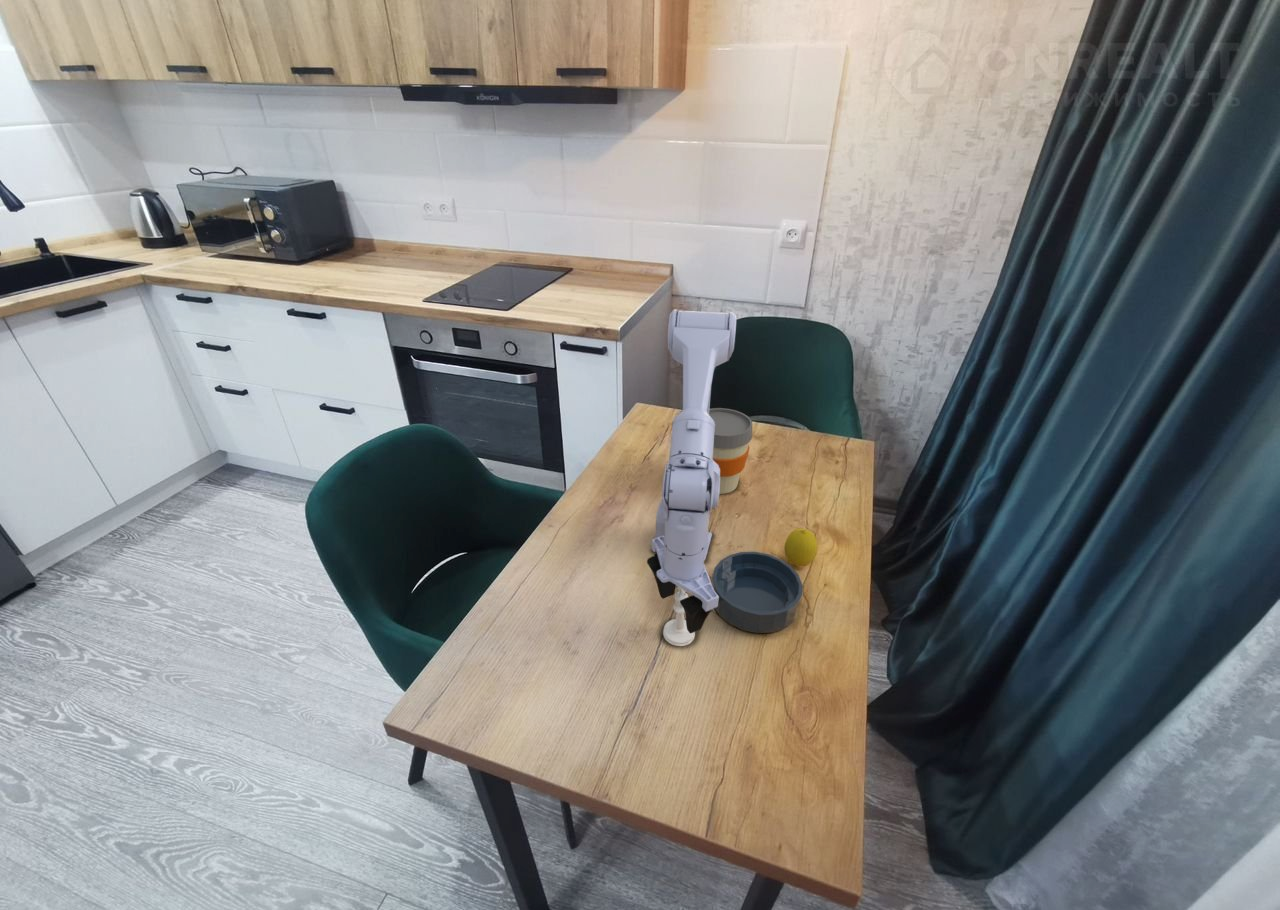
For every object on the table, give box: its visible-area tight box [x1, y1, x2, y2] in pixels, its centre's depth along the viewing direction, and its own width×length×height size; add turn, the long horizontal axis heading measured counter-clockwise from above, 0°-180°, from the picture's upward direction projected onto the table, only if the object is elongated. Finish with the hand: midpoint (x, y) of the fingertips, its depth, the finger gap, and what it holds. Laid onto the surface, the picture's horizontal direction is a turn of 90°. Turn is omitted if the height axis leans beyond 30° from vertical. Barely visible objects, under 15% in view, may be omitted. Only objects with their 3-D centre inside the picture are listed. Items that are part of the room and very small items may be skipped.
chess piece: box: [662, 586, 696, 647], centre depth 85 cm, size 5×5×10 cm
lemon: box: [783, 528, 818, 568], centre depth 99 cm, size 6×6×8 cm
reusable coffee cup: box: [709, 407, 753, 495], centre depth 119 cm, size 12×13×15 cm
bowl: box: [711, 551, 804, 634], centre depth 92 cm, size 14×14×5 cm
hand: (680, 611), depth 85 cm, fingers open, 7 cm apart
